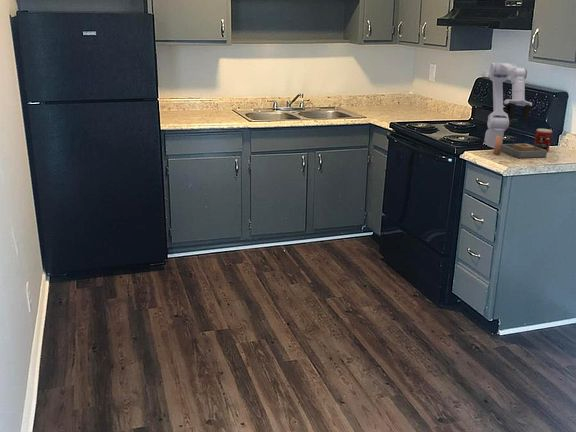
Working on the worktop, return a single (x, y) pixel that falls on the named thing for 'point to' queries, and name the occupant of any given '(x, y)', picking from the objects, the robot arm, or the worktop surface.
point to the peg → (497, 145)
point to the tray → (523, 151)
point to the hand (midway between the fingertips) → (518, 120)
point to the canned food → (543, 138)
